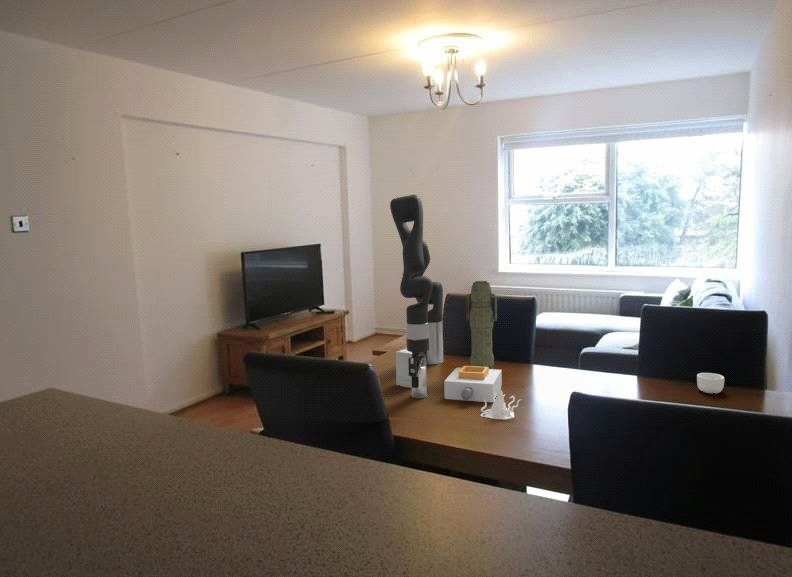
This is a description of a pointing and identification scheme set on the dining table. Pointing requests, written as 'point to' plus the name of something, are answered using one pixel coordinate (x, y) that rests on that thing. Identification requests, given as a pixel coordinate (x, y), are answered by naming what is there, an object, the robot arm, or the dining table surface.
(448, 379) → the white square box
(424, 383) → the shiny metal cylinder
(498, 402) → the tentacle sculpture
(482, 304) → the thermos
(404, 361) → the supplement box
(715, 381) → the teacup
